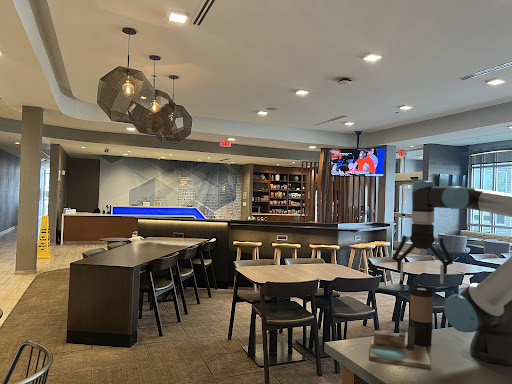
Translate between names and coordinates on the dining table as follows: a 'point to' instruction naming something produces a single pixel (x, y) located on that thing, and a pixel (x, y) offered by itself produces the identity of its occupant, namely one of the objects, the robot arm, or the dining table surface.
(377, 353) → the felt pad
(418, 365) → the oak board
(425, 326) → the travel mug
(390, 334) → the leg bar
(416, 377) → the dining table surface
